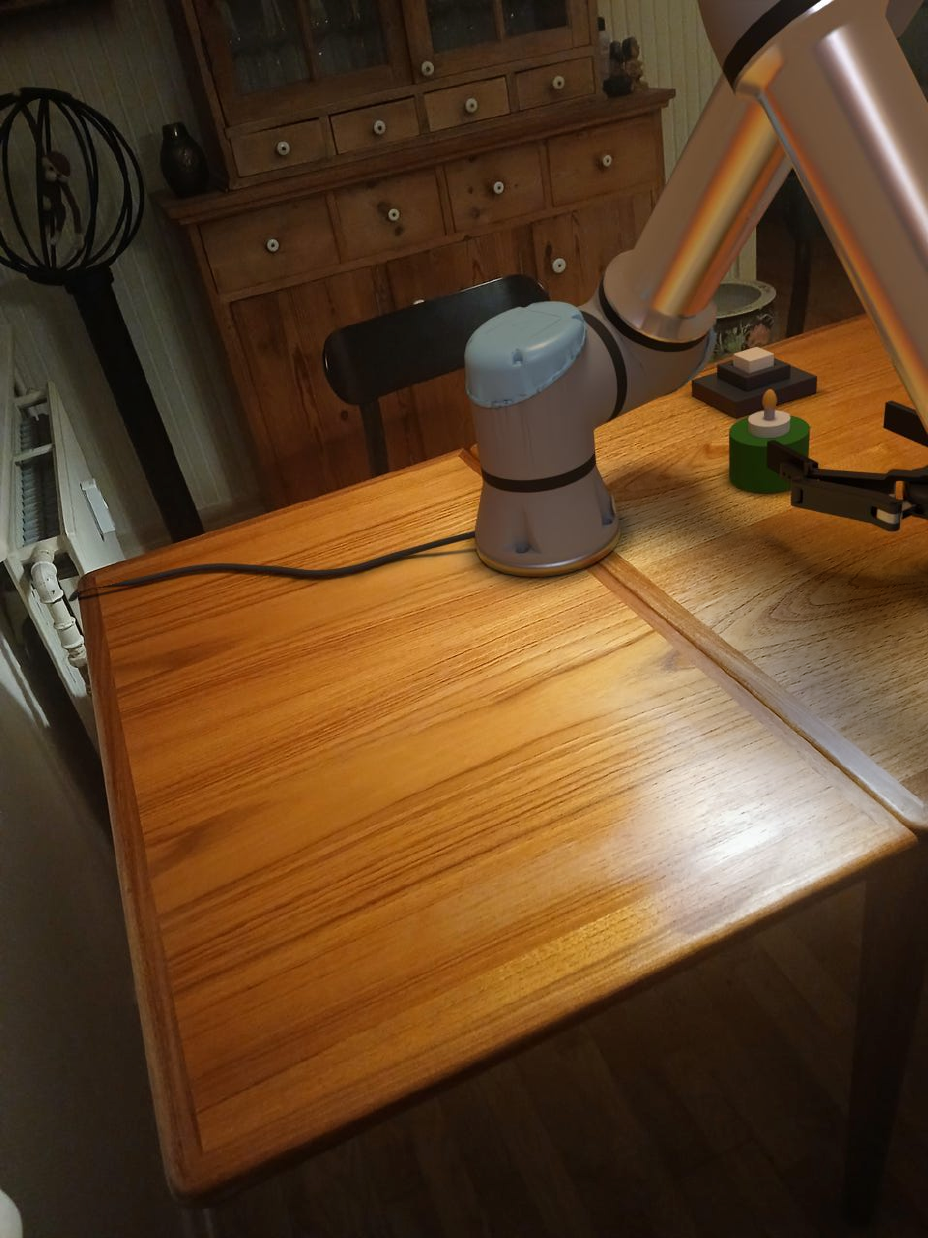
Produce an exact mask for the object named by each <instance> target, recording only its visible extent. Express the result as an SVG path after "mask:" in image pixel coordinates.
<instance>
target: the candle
mask: <svg viewBox="0 0 928 1238" xmlns="http://www.w3.org/2000/svg"><path fill="white" fill-rule="evenodd" d="M776 403H777V397H776V394H775V392H774V391H773V390H771V389H769V390H767V391H766V392H765V394H764V396H763V400H762V404H763V406H764V409H763V410H760V411H757V412H754V413H751V414H750V415H749V416H747V417H744V418H742V419H740V420H738V421H735V422H734V423H733V424H732V425H731V426H730V427H729V430H728V477H729V478H728V479H729V481H730V483H731V484H732V485H733V486H734V487H735V488H737V489H739V490H743V491H745V492H750V493H755V494H777V493H783V492H784V493H785V492H788V491H791V484H789V483H787V482H786V481H784V480H782V479H781V477H780V475H779V474H777V473H776V472H774V471H772V470H770V469H769V468H767V442H768V441H771V440H776V441H778V442H780V443H782V444H784V445H785V446H787V447H789V448H791V449H793V450H795V451H797V452H799V453H801V454H803V455H805V456H806V457H808V458H810V439H811V438H810V435H811V427H810V424H809V423H808V421H806V420H805V419H803V418H801V417H798V416H795V415H791V414H789V413H788V412H785V411H782V410H777V409H776V406H777V405H776Z"/></svg>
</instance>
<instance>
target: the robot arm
mask: <svg viewBox="0 0 928 1238" xmlns="http://www.w3.org/2000/svg"><path fill="white" fill-rule="evenodd" d="M696 1H697V6H698V10H699V14H700V17H701V21H702V24H703V27H704V31H705V33H706V38H707V40H708V42H709V44H710V47H711V49H712V52H713V53H714V56H715V58H716V60H717V62H718V64H719V67H720V69H721V73H720V75H719V77H718V79H717V81H716V83H715V85H714V86H713V89H712V90H711V92H710V95H709V97H708V99H707V101H706V103H705V105H704V106H703V109H702V111H701V113H700V114H699V117H698V118H697V121H696V123H695V125H694V126H693V129H692V131H691V133H690V135H689V137H688V138H687V141H686V143H685V145H684V147H683V148H682V149H683V150H682V151H681V153H680V155H679V157H678V159H677V161H676V163H675V165H674V167H673V169H672V171H671V173H670V175H669V177H668V179H667V182H666V183H665V185H664V187H663V189H662V192H661V193H660V196H659V197H658V199H657V201H656V203H655V206H654V207H653V209H652V212H651V213H650V215H649V217H648V219H647V222H646V223H645V226H644V228H643V230H642V232H641V233H640V236H639V238H638V239H637V241H636V243H635V246H634V247H633V249H629V250H626V251H623V252H621V253H619V254H618V255H616V256H615V257H614V258H612V260H611V261H610V262H609V264H608V265H607V267H606V268H605V271H604V273H603V274H602V277H601V280H600V281H599V284H598V286H597V288H596V290H595V291H594V294H593V295H592V297H591V298H590V299H589V300H588V301H587V302H586V303H584V304H583V303H582V304H581V305H579V306H575V305H573V304H571V303H569V302H564V301H539V302H534V303H531V304H529V305H527V306H525V307H521V306H517V307H515V308H512V309H509V310H506V311H504V312H502V313H499V314H497V315H495V316H494V317H492V318H490V319H489V320H487V321H486V322H484V323H483V324H481V325H480V326H479V327H478V328H477V329H476V330H475V331H474V332H473V333H472V334H471V335H470V337H469V339H468V340H467V343H466V345H465V350H464V355H463V358H464V359H463V360H464V370H465V372H464V373H465V383H464V384H465V385H464V386H465V392H466V394H467V397H468V399H469V404H470V410H471V416H472V423H473V429H474V435H475V442H476V445H477V446H476V447H477V453H478V459H479V464H480V465H479V466H480V470H481V471H480V472H481V479H482V486H481V492H480V497H479V503H478V508H477V514H476V520H475V525H474V530H472V531H468V532H463V533H459V534H456V535H452V536H448V537H444V538H440V539H436V540H433V541H430V542H427V543H423V544H420V545H416V546H413V547H408V548H406V549H401V550H398V551H395V552H391V553H389V554H385V555H382V556H379V557H376V558H372V559H370V560H366V561H363V562H360V563H356V564H353V565H347V566H343V567H335V568H328V569H303V568H295V567H287V566H280V565H265V564H263V565H262V564H249V563H248V564H247V563H231V562H229V563H228V562H218V563H217V562H216V563H204V564H203V563H202V564H195V565H187V566H182V567H177V568H172V569H167V570H164V571H160V572H156V573H153V574H147V575H143V576H139V577H133V578H129V579H123V580H124V581H122V582H119V583H115V584H112V585H108V586H103V587H98V588H97V589H103V588H104V589H105V588H121V587H122V588H124V587H131V586H137V585H141V584H146V583H150V582H155V581H157V580H162V579H165V578H166V579H167V578H170V577H175V576H179V575H185V574H190V573H197V572H206V571H243V572H253V573H254V572H256V573H257V572H258V573H273V574H282V575H283V574H284V575H290V576H296V577H297V576H298V577H307V578H322V577H324V578H325V577H334V576H341V575H346V574H352V573H356V572H359V571H363V570H367V569H370V568H372V567H376V566H379V565H382V564H385V563H388V562H391V561H394V560H398V559H402V558H405V557H408V556H412V555H416V554H419V553H423V552H426V551H430V550H433V549H437V548H440V547H444V546H448V545H451V544H455V543H460V542H463V541H468V540H471V539H474V543H475V547H476V548H475V549H476V553H477V555H478V557H479V558H480V560H481V561H482V562H483V563H484V564H485V565H487V566H488V567H489V568H491V569H493V570H495V571H498V572H500V573H503V574H507V575H511V576H517V577H526V578H527V577H528V578H537V577H538V578H539V577H540V578H542V577H553V576H558V575H564V574H568V573H572V572H575V571H579V570H582V569H584V568H587V567H588V566H591V565H594V564H595V563H597V562H599V561H601V560H602V559H603V558H605V557H606V556H607V555H609V554H610V553H611V552H612V551H613V550H614V549H615V548H616V546H617V544H618V542H619V540H620V537H621V528H620V527H621V524H620V517H619V513H618V510H617V507H616V502H615V498H614V495H613V493H612V490H610V491H609V490H608V488H607V485H606V483H605V481H604V479H603V477H602V474H601V472H600V470H599V468H598V464H597V454H596V442H595V430H596V429H597V428H599V427H602V426H603V425H605V424H608V423H610V422H611V421H614V420H616V419H617V418H620V417H621V416H623V415H626V414H628V413H630V412H633V411H634V410H636V409H638V408H640V407H643V406H644V405H646V404H649V403H650V402H653V401H655V400H657V399H660V398H663V397H667V396H669V395H672V394H673V393H676V392H677V391H678V390H679V389H682V388H683V387H685V386H686V385H687V384H688V383H690V382H692V380H693V379H696V378H697V377H698V376H699V375H700V374H701V373H702V371H703V370H704V369H705V368H706V366H707V365H708V364H709V362H710V360H711V358H712V356H713V353H714V350H715V347H716V344H717V338H718V337H717V336H718V333H717V332H716V331H714V326H716V325H717V323H718V322H717V315H718V303H717V298H716V295H715V293H716V292H717V289H718V288H719V287H720V285H721V283H722V282H723V280H724V278H726V276H727V274H728V272H729V270H730V269H731V267H732V266H733V264H734V263H735V261H736V259H737V258H738V256H739V255H740V253H741V251H742V250H743V248H744V247H745V245H746V244H747V242H748V241H749V239H750V237H751V235H752V233H753V232H754V230H755V229H756V227H757V225H758V224H759V222H760V220H761V219H762V218H763V216H764V214H765V213H766V212H767V209H768V208H769V207H770V205H771V203H772V201H773V200H774V198H775V197H776V195H777V193H778V192H779V190H780V189H781V187H782V186H783V184H784V183H785V181H786V179H787V177H788V175H789V174H790V173H791V170H792V169H793V170H794V173H795V174H796V177H797V178H798V181H799V182H800V185H801V187H802V188H803V190H804V192H805V194H806V196H807V198H808V200H809V202H810V204H811V206H812V208H813V211H814V213H815V214H816V216H817V218H818V220H819V222H820V224H821V226H822V228H823V230H824V232H825V234H826V236H827V238H828V240H829V242H830V244H831V246H832V247H833V250H834V251H835V254H836V256H837V258H838V259H839V262H840V264H841V266H842V268H843V269H844V271H845V273H846V275H847V278H848V280H849V282H850V283H851V285H852V287H853V289H854V291H855V293H856V295H857V297H858V299H859V302H860V303H861V305H862V307H863V309H864V311H865V313H866V315H867V316H868V319H869V321H870V323H871V325H872V327H873V329H874V332H875V333H876V335H877V337H878V339H879V341H880V343H881V345H882V347H883V349H884V351H885V353H886V354H887V356H888V358H889V360H890V363H891V364H892V367H893V368H894V370H895V373H896V374H897V376H898V378H899V380H900V382H901V384H902V386H903V389H904V390H905V393H906V394H907V396H908V398H909V400H910V402H911V404H912V406H913V408H912V407H910V406H907V405H904V404H902V403H900V402H898V401H895V400H888V401H886V402H885V404H884V415H883V426H882V429H885V430H887V431H889V432H891V433H894V434H896V435H898V436H900V437H902V438H905V439H907V440H910V441H911V442H914V443H916V444H919V445H920V446H923V447H925V448H928V101H927V98H926V96H925V95H924V92H923V90H922V88H921V86H920V85H919V82H918V81H917V78H916V76H915V73H913V72H914V71H913V70H912V68H911V65H910V64H909V62H908V60H907V58H906V56H905V54H904V52H903V50H902V48H901V46H900V44H899V39H900V38H901V36H902V35H903V34H904V32H905V30H906V29H907V28H908V26H909V24H910V23H911V21H912V20H913V18H914V16H915V15H916V14H917V13H918V10H919V9H920V8H921V6H922V4H924V1H925V0H696ZM767 468H769V469H770V470H772V471H774V472H776V473H777V474H779V475H780V477H781V479H782V480H784V481H786V482H787V483H789V484H791V490H790V506H791V507H794V508H799V509H803V510H807V511H812V512H816V513H820V514H826V515H830V516H835V517H839V518H844V519H848V520H854V521H857V522H862V523H867V524H871V525H873V526H875V527H877V528H880V529H882V530H884V531H886V532H889V533H896V532H899V531H900V530H901V522H902V521H903V520H906V519H907V518H910V517H913V518H917V519H921V520H926V521H928V464H926V465H925V466H923V467H918V468H914V469H913V468H912V469H901V468H900V469H899V468H890V469H889V470H888V471H887V472H885V473H882V472H872V471H871V472H869V471H858V470H845V469H843V470H842V469H831V468H830V469H828V468H819V462H818V461H816V460H814V459H812V458H811V457H809V458H808V457H806V456H805V455H803V454H801V453H799V452H797V451H795V450H793V449H791V448H789V447H787V446H785V445H784V444H782V443H780V442H778V441H776V440H771V441H768V442H767ZM897 482H902V486H901V496H902V499H898V498H897V495H896V490H897ZM94 589H96V588H92V589H88V590H84V591H80V592H78V588H76V589H75V590H74V591H73V592H72V593H71V594H70V595H69V598H68V600H67V602H69V603H71V602H75V601H76V600H77V599H78V598H79V596H81V595H82V594H83V593H86V592H88V591H91V590H94Z"/></svg>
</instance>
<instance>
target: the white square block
mask: <svg viewBox="0 0 928 1238" xmlns="http://www.w3.org/2000/svg"><path fill="white" fill-rule="evenodd" d="M774 358H775V353H773V352H771V351H768V350H766V349H764V348H761V347H758V346H754V347H752V348H748V349H745V350H742V351H738V352H735V353H733V354H732V360H733V366H734V367H736V368H738V369H741V370H743V371H745V372H747V373H752V372H755V371H758V370H761V369H764V368H768V367H771V366H774Z"/></svg>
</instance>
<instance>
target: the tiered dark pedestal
mask: <svg viewBox="0 0 928 1238" xmlns="http://www.w3.org/2000/svg"><path fill="white" fill-rule="evenodd" d="M817 388H818V375H815V374H813V373H811V372H808V371H805V370H804V369H801V368H799V367H796V366H794V365H791V364H790V363H788V362H785V361H783V360H781V359H778V358H776V357H774V366H771V367H768V368H764V369H761V370H758V371H755V372H752V373H747V372H745V371H743V370H741V369H738V368H736V367H734V366H733V359H730V360H727V361H725V362H721V363H718V364H716V372H713V373H709V374H706V375H703V376H700V377H695V378H694V379H692V380H691V396H692V397H694V398H696V399H698V400H700V401H702V402H704V403H706V404H707V405H709V406H711V407H713V408H715V409H716V410H719V411H721V412H723V413H724V414H726V415H728V416H730V417H732V418H733V419H739V418H742V417H744V416H745V417H746V416H748V415H752V414H754V413H757V412H760V411H764V406H763V404H762V400H763V396H764V394H765V392H766V391H767V390H769V389H771V390H773V391H774V392H775V394H776V397H777V403H776V406H778V405H782V404H785V403H788V402H791V401H794V400H797V399H798V400H799V399H800V398H804V397H807V396H810V395H812V394H813V395H814V394H816V393H817V392H818V391H817V390H818V389H817Z"/></svg>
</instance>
